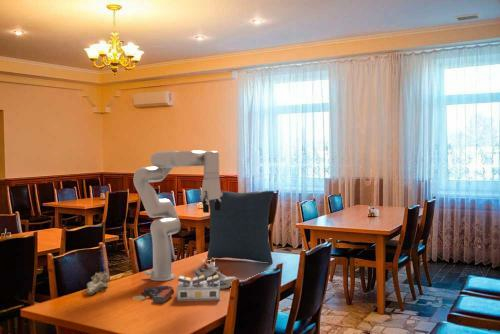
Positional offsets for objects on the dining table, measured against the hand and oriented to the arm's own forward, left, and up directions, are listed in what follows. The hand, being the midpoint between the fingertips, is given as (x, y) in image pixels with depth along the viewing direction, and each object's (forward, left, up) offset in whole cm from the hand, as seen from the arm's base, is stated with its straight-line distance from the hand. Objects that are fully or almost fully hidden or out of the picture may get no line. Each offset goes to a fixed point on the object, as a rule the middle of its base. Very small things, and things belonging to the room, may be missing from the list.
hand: (211, 211), depth 237 cm
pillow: (+15, +54, -38) cm, 68 cm away
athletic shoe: (+1, +2, -38) cm, 38 cm away
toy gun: (-26, -14, -38) cm, 48 cm away
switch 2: (-6, -16, -29) cm, 34 cm away
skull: (-56, -2, -38) cm, 67 cm away
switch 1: (-12, -16, -29) cm, 35 cm away
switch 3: (+1, -16, -29) cm, 33 cm away
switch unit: (-6, -16, -37) cm, 41 cm away
